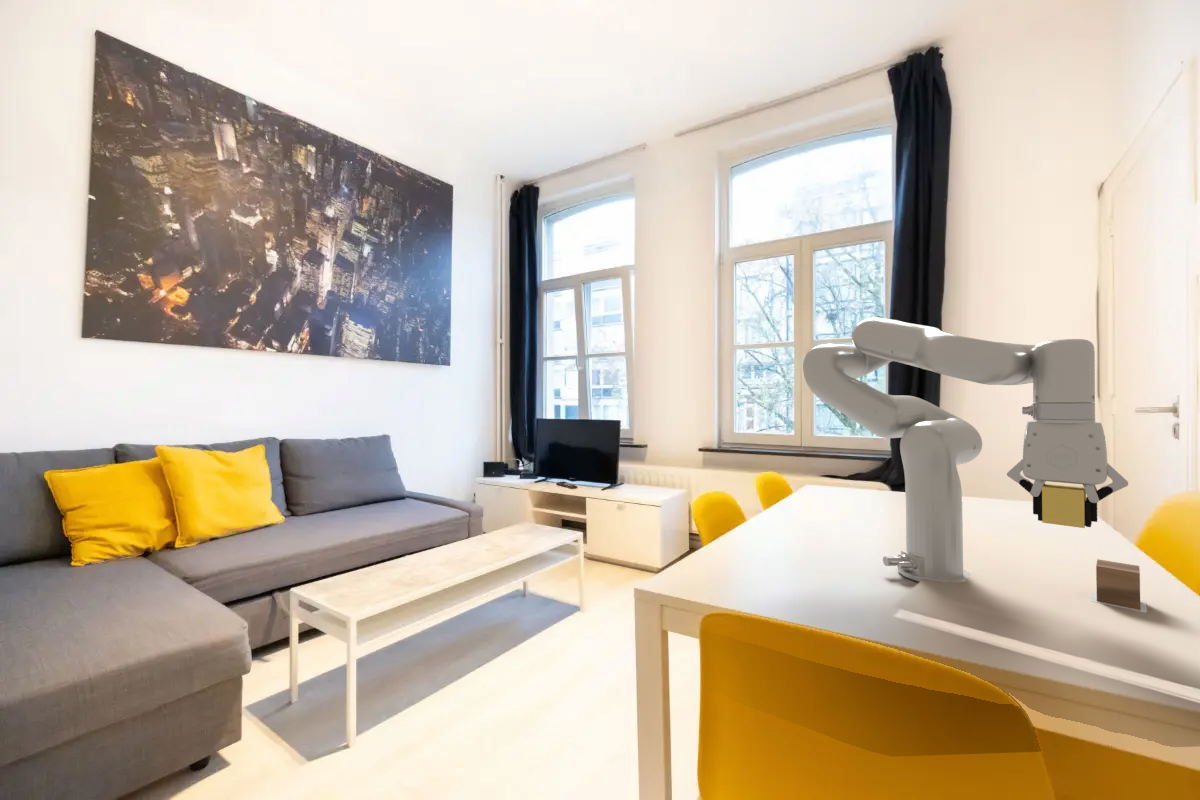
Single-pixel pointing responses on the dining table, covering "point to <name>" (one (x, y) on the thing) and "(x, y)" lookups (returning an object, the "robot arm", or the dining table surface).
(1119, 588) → the walnut block
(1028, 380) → the robot arm
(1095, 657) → the dining table surface
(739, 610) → the dining table surface
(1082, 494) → the mustard block
